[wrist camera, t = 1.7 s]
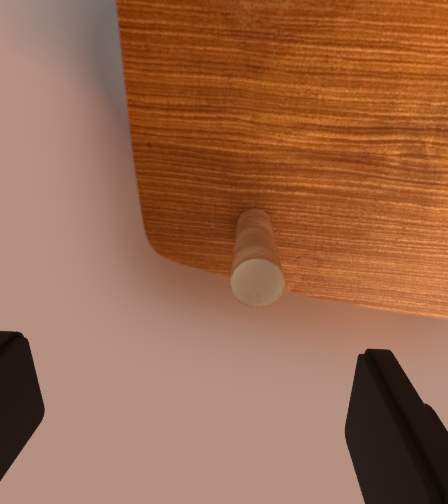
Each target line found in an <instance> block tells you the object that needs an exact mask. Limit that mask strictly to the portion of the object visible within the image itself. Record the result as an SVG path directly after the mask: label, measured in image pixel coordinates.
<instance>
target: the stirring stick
mask: <svg viewBox="0 0 448 504" xmlns="http://www.w3.org/2000/svg"><path fill="white" fill-rule="evenodd" d="M284 285H285V280H284V275H283V271H282V266H281V262H280V257H279V253H278V249H277V244H276V240H275V236H274V231H273V227H272V223H271V219H270V217H269V215H268V214H267V213H266V212H265V211H263V210H261V209H257V208H251V209H248V210H246V211H244V212H243V213H241V215H240V216H239V218H238V220H237V225H236V234H235V243H234V251H233V260H232V269H231V278H230V287H231V290H232V292H233V294H234V296H235V297H236V298H237V299H238V300H239V301H240V302H241V303H243V304H245V305H248V306H251V307H263V306H267V305H270V304H272V303H273V302H274V301H276V300H277V299H278V298H279V297H280V295H281V294H282V292H283V290H284Z"/></svg>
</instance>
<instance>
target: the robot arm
mask: <svg viewBox="0 0 448 504" xmlns="http://www.w3.org/2000/svg"><path fill="white" fill-rule="evenodd" d="M44 411H45V408H44V404H43V399H42V395H41V391H40V387H39V384H38V379H37V375H36V371H35V367H34V362H33V358H32V354H31V350H30V346H29V342H28V339H26V338H25V337H24V336H23V334H22V333H20V332H12V331H0V481H1V479H2V478H3V476H4V475H5V473H6V472H7V470H8V469H9V468H10V466H11V465H12V463H13V462H14V460H15V459H16V458H17V456H18V455H19V453H20V452H21V450H22V449H23V447H24V446H25V445H26V443H27V441H28V440H29V439H30V437H31V436H32V434H33V433H34V432H35V430H36V429H37V427H38V426H39V424H40V423H41V421H42V419H43V417H44ZM345 438H346V443H347V446H348V449H349V452H350V456H351V459H352V462H353V466H354V469H355V472H356V475H357V479H358V482H359V485H360V488H361V492H362V495H363V498H364V502H365V504H448V431H447V430H446V428H445V427H444V425H443V423H442V422H441V420H440V419H439V417H438V416H437V414H436V412H435V411H434V410H433V409H432V407H431V406H429V405H428V404H424V403H423V401H422V400H421V398H420V397H419V395H418V393H417V392H416V390H415V389H414V387H413V386H412V384H411V382H410V381H409V379H408V377H407V376H406V374H405V372H404V371H403V369H402V368H401V366H400V365H399V363H398V361H397V359H396V358H395V356H394V355H393V353H392V352H391V351H390V350H386V349H367V350H366V351H365V354H359V356H358V359H357V365H356V370H355V376H354V381H353V386H352V392H351V397H350V403H349V408H348V413H347V419H346V424H345Z"/></svg>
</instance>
